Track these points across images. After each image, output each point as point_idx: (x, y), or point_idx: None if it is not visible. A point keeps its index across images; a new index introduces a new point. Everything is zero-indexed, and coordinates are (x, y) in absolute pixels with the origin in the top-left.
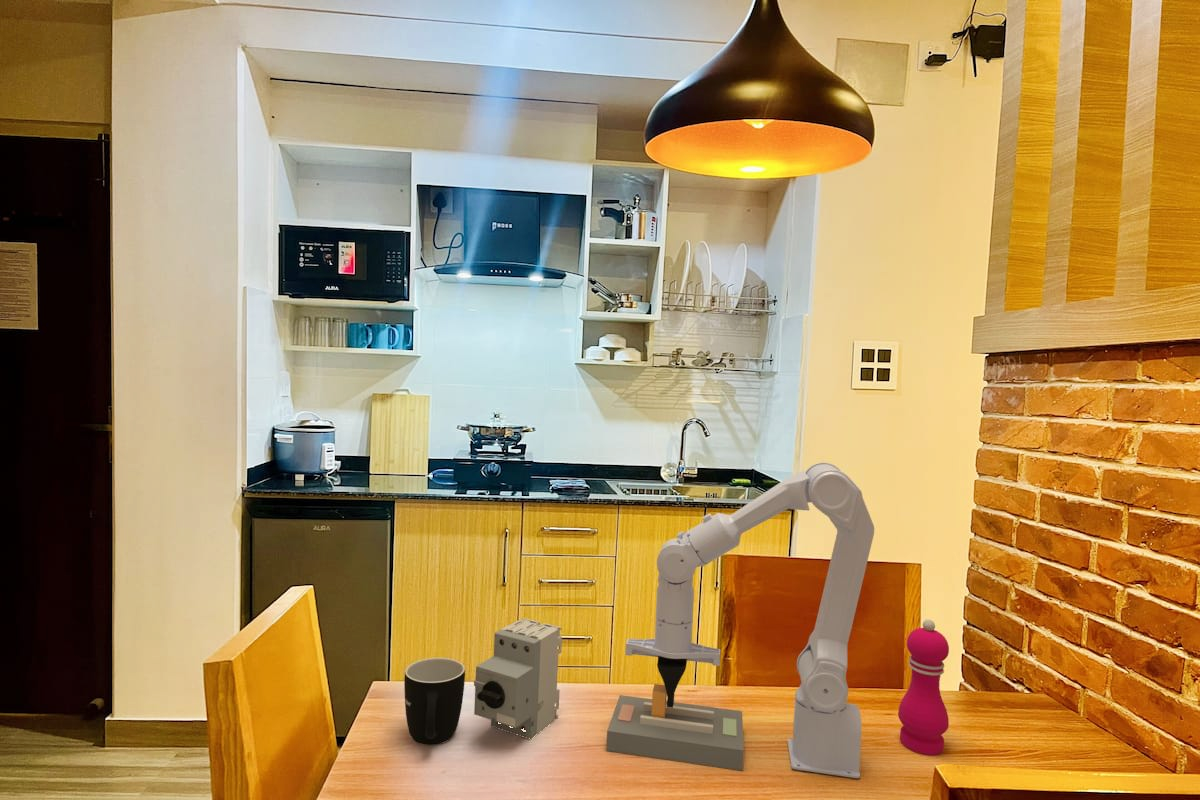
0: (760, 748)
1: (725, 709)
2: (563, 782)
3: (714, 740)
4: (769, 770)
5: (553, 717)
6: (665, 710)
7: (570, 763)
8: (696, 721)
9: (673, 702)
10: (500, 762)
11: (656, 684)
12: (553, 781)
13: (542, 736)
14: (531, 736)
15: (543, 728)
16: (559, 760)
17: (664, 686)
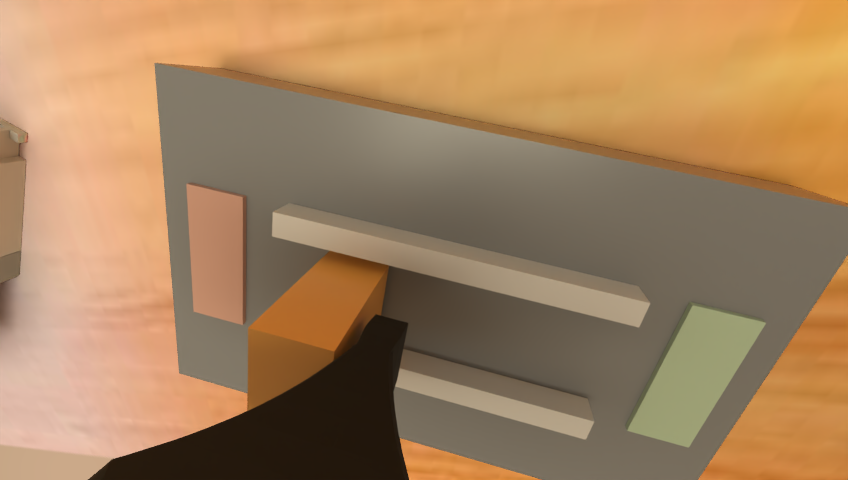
0: (799, 334)
1: (759, 198)
2: (162, 442)
3: (571, 454)
4: (749, 453)
5: (8, 168)
6: (375, 310)
7: (153, 380)
8: (532, 321)
9: (398, 365)
10: (9, 367)
11: (261, 338)
12: (141, 437)
13: (38, 256)
14: (9, 276)
15: (18, 220)
16: (124, 367)
17: (315, 367)
